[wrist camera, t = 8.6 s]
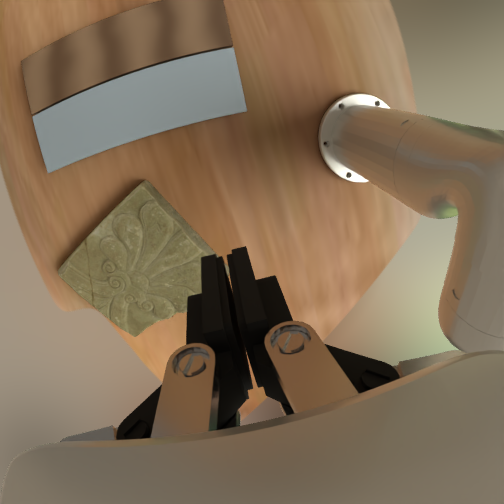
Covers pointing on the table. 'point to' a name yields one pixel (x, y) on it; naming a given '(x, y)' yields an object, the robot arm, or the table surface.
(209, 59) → the grey-blue plank
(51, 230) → the table surface
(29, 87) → the walnut plank
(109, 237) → the decorative tile
